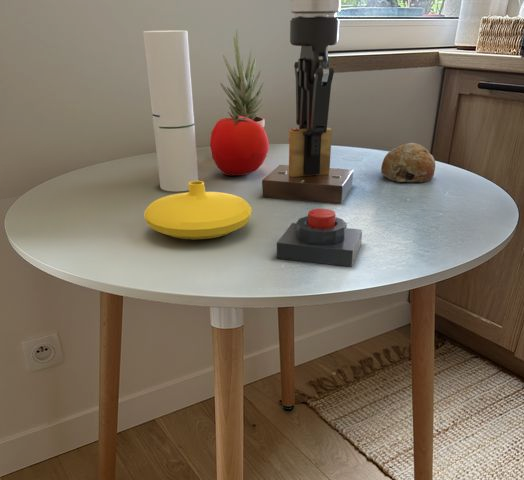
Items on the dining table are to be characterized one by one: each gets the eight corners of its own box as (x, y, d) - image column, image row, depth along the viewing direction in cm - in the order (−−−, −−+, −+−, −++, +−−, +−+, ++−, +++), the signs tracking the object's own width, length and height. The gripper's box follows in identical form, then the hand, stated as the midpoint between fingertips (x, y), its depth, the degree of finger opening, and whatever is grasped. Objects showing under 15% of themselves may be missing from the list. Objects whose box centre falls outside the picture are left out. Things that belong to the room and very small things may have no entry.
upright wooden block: (326, 171, 97) (328, 125, 93) (329, 174, 96) (332, 127, 92) (288, 174, 96) (289, 128, 92) (291, 177, 95) (292, 130, 90)
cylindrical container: (183, 178, 106) (170, 30, 92) (206, 185, 101) (196, 30, 88) (152, 186, 101) (134, 31, 88) (175, 193, 97) (160, 32, 84)
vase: (272, 235, 79) (272, 187, 75) (173, 259, 72) (167, 206, 68) (221, 207, 90) (218, 164, 86) (130, 225, 83) (124, 178, 79)
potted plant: (226, 148, 128) (221, 26, 114) (266, 149, 127) (266, 26, 114) (219, 158, 119) (213, 28, 106) (262, 159, 118) (261, 28, 105)
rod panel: (352, 186, 100) (353, 168, 99) (341, 204, 91) (342, 185, 90) (279, 180, 104) (279, 163, 102) (262, 197, 95) (261, 179, 93)
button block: (361, 244, 76) (363, 216, 74) (351, 266, 69) (354, 237, 67) (291, 237, 78) (292, 210, 76) (276, 258, 72) (276, 229, 70)
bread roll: (378, 198, 105) (383, 164, 99) (380, 163, 111) (384, 129, 104) (431, 200, 104) (439, 166, 97) (430, 165, 109) (438, 130, 103)
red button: (337, 222, 73) (338, 209, 72) (331, 231, 70) (332, 218, 69) (311, 220, 74) (311, 207, 73) (304, 228, 71) (305, 215, 70)
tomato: (225, 164, 115) (223, 107, 109) (276, 169, 111) (277, 110, 105) (200, 179, 105) (195, 117, 99) (254, 184, 102) (253, 121, 96)
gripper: (278, 15, 89) (278, 163, 101) (305, 16, 76) (301, 185, 89) (322, 14, 90) (316, 161, 103) (355, 15, 78) (344, 181, 90)
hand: (309, 171), depth 96 cm, fingers closed on upright wooden block, 2 cm apart
